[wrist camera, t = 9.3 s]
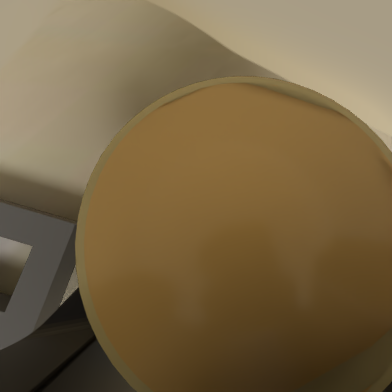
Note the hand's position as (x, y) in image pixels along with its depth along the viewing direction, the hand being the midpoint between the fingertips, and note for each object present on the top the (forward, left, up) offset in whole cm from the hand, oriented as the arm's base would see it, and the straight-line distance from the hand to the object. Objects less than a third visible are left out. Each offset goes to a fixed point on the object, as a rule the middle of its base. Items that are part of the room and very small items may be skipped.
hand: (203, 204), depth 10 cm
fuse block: (+14, +8, -10) cm, 19 cm away
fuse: (-1, +1, -7) cm, 7 cm away
